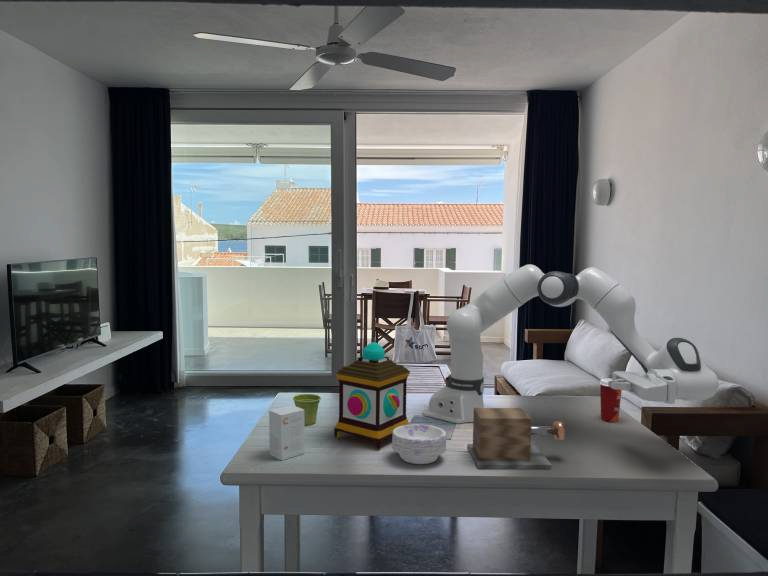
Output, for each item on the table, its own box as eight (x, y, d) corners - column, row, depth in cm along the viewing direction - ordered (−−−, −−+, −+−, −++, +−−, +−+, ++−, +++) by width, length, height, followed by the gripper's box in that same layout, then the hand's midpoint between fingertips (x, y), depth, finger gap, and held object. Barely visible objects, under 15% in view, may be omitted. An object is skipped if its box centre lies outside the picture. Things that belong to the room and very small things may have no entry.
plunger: (558, 435, 162) (558, 418, 161) (565, 442, 156) (566, 425, 155) (499, 435, 161) (499, 418, 161) (504, 442, 155) (505, 425, 155)
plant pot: (317, 417, 194) (317, 392, 193) (323, 425, 185) (323, 400, 184) (290, 419, 191) (290, 394, 190) (295, 428, 182) (295, 402, 181)
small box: (292, 447, 164) (292, 404, 164) (305, 453, 160) (305, 409, 159) (268, 454, 159) (268, 409, 158) (280, 461, 154) (280, 415, 153)
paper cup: (623, 424, 191) (625, 383, 190) (599, 422, 192) (601, 382, 191) (618, 417, 198) (620, 378, 197) (596, 415, 200) (597, 377, 199)
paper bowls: (427, 445, 168) (428, 420, 167) (456, 463, 154) (457, 435, 154) (382, 453, 161) (382, 426, 160) (408, 473, 147) (409, 443, 147)
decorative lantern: (366, 422, 189) (367, 335, 186) (416, 434, 177) (418, 341, 175) (327, 439, 172) (328, 343, 170) (379, 453, 161) (380, 350, 159)
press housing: (533, 447, 167) (535, 405, 166) (551, 469, 151) (553, 422, 150) (467, 447, 166) (468, 404, 165) (478, 469, 150) (479, 421, 149)
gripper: (640, 366, 168) (595, 366, 168) (678, 382, 148) (627, 382, 148) (639, 386, 169) (594, 386, 168) (677, 405, 149) (626, 405, 148)
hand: (610, 384), depth 158 cm, fingers closed
